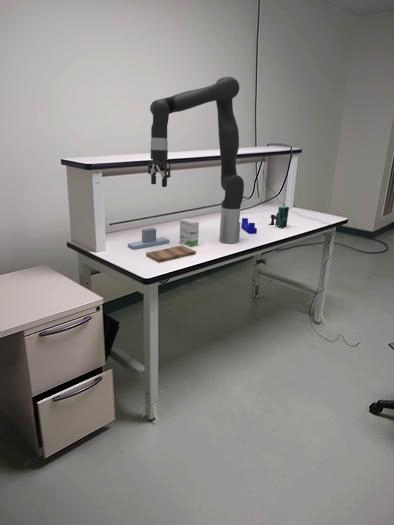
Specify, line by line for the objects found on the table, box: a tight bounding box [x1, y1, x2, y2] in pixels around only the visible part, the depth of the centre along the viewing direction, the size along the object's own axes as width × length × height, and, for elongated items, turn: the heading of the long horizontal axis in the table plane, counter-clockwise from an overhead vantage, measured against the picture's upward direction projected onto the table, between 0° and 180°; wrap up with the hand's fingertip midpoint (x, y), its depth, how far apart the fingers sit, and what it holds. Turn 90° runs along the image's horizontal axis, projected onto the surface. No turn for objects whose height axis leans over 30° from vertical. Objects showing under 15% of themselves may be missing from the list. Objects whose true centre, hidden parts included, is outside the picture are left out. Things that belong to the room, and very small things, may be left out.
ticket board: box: [145, 244, 197, 264], centre depth 177 cm, size 20×10×2 cm, turn 130°
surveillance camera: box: [267, 206, 290, 229], centre depth 233 cm, size 6×12×10 cm
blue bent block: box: [240, 217, 258, 235], centre depth 221 cm, size 12×4×6 cm, turn 13°
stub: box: [127, 227, 170, 250], centre depth 189 cm, size 20×5×8 cm, turn 130°
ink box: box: [179, 218, 200, 248], centre depth 193 cm, size 9×5×12 cm, turn 46°
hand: (158, 185), depth 182 cm, fingers open, 8 cm apart
